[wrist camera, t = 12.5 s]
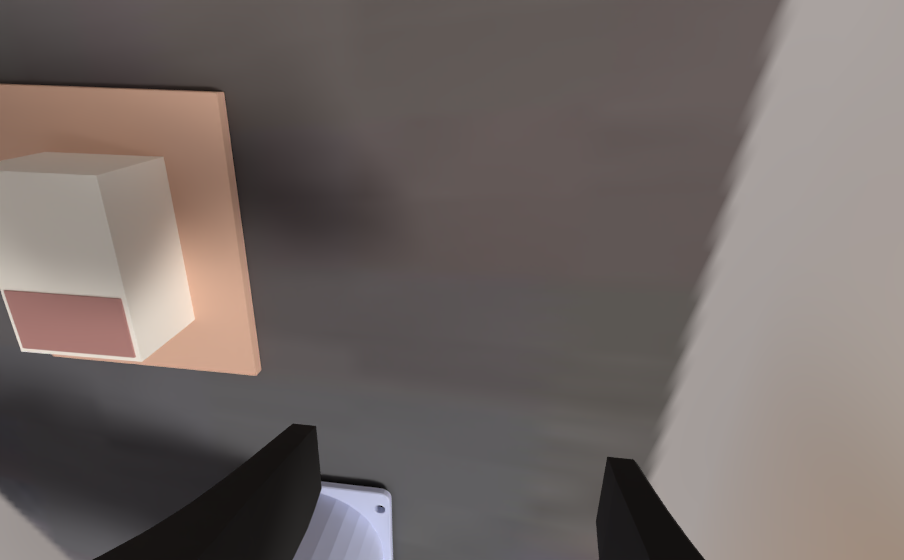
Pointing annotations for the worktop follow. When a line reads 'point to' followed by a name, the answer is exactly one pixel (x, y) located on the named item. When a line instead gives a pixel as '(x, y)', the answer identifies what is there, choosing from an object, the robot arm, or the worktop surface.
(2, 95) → the mat
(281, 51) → the worktop surface
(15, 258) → the card box
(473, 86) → the worktop surface
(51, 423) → the worktop surface
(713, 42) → the worktop surface
